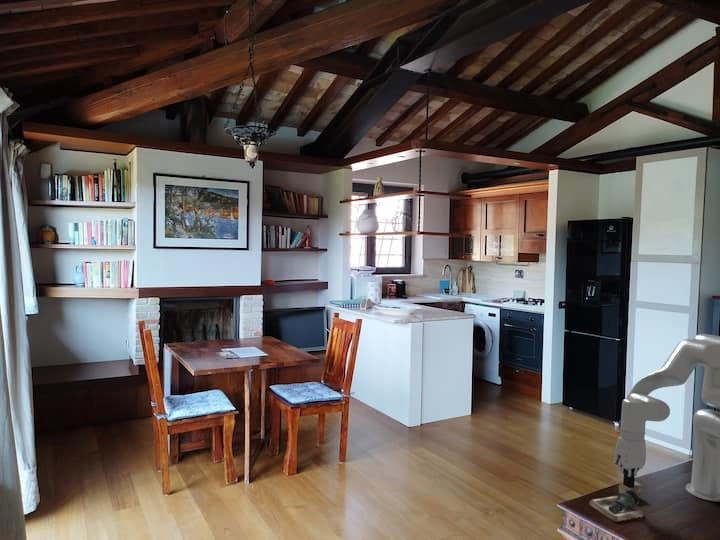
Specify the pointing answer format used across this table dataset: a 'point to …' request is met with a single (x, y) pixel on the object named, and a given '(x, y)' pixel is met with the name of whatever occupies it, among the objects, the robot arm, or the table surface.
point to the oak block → (636, 488)
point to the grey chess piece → (624, 502)
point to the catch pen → (603, 507)
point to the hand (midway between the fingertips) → (628, 486)
